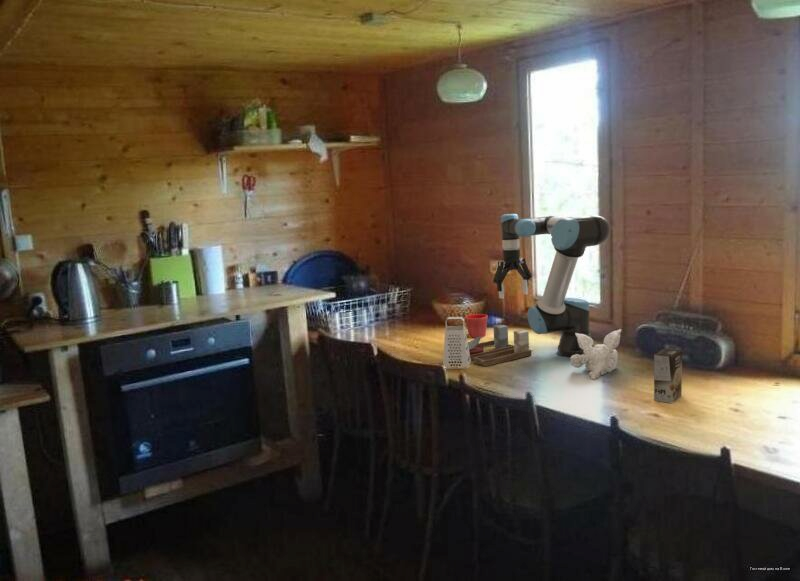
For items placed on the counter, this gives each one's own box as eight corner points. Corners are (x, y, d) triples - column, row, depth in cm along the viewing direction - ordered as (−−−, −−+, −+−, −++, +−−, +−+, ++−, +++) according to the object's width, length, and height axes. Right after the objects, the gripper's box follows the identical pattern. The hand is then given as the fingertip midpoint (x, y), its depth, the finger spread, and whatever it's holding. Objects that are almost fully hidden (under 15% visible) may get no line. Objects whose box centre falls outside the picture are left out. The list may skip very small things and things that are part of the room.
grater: (468, 368, 294) (466, 320, 290) (442, 368, 296) (440, 320, 293) (471, 361, 304) (468, 314, 300) (446, 361, 306) (443, 315, 303)
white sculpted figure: (625, 340, 286) (620, 324, 269) (626, 390, 279) (621, 376, 262) (576, 341, 293) (568, 325, 276) (576, 389, 286) (568, 376, 269)
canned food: (478, 368, 309) (474, 351, 303) (458, 363, 315) (454, 346, 309) (491, 351, 316) (487, 334, 310) (471, 346, 322) (467, 329, 316)
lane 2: (531, 355, 306) (530, 332, 304) (484, 366, 294) (483, 342, 292) (519, 351, 313) (518, 328, 311) (473, 362, 301) (472, 338, 299)
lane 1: (515, 350, 315) (514, 327, 314) (469, 360, 303) (468, 337, 302) (495, 344, 328) (494, 322, 326) (450, 354, 316) (448, 331, 314)
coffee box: (672, 403, 239) (673, 356, 236) (653, 400, 243) (653, 354, 240) (682, 396, 246) (682, 350, 243) (663, 393, 250) (663, 348, 247)
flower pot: (461, 335, 349) (460, 315, 347) (481, 332, 353) (480, 312, 352) (472, 339, 339) (472, 319, 338) (492, 336, 344) (492, 316, 342)
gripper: (527, 245, 330) (529, 291, 333) (483, 251, 318) (486, 299, 321) (538, 246, 324) (540, 293, 327) (494, 252, 312) (496, 301, 315)
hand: (513, 296), depth 324 cm, fingers open, 13 cm apart
